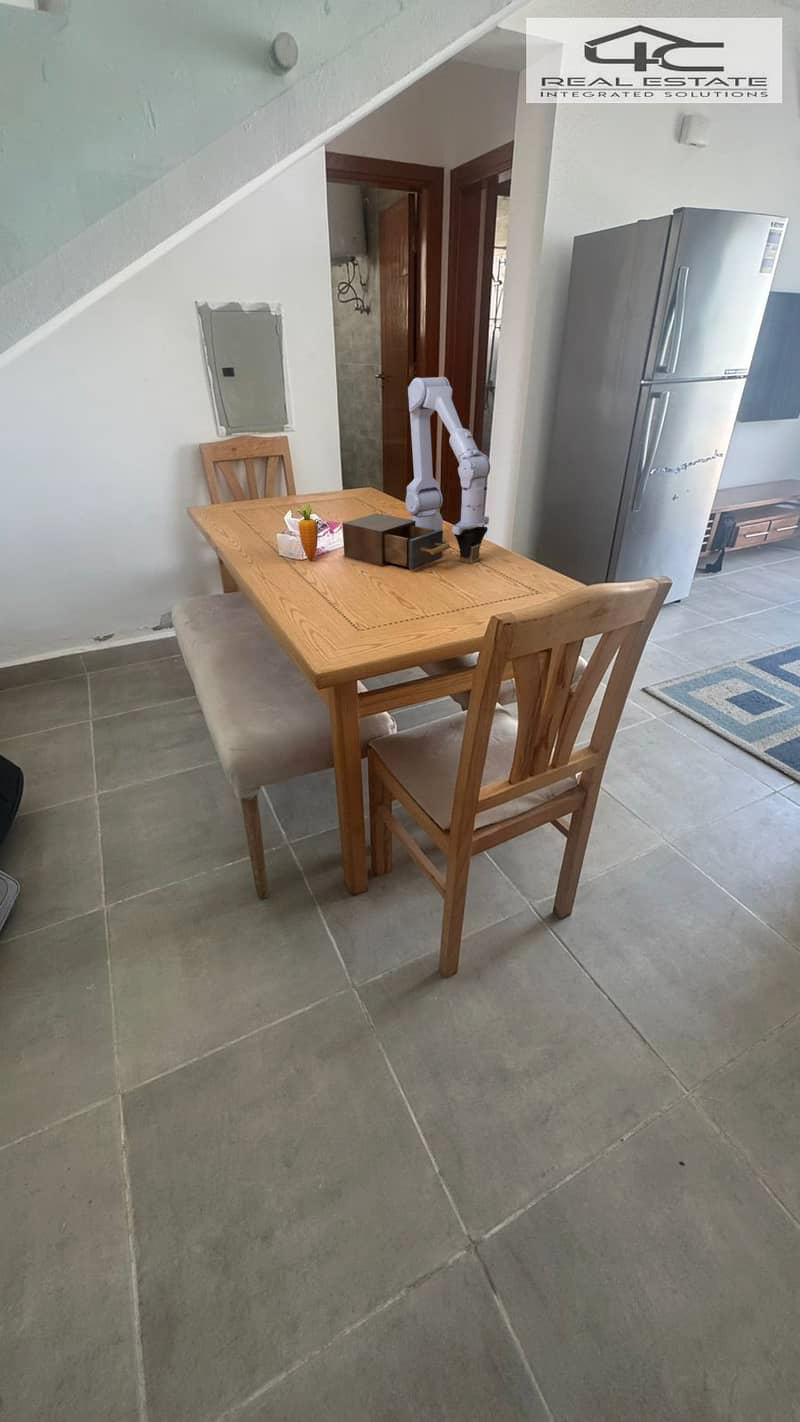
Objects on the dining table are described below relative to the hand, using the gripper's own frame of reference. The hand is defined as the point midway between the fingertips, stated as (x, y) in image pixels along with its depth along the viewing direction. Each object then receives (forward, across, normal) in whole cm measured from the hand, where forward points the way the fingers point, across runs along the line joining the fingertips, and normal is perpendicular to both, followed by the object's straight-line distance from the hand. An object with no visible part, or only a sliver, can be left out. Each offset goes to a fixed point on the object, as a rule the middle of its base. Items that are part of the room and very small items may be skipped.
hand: (469, 555), depth 167 cm
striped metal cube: (+1, 0, 0) cm, 1 cm away
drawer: (+1, -12, +10) cm, 15 cm away
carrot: (+2, -28, +34) cm, 44 cm away
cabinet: (+1, -12, +22) cm, 26 cm away
